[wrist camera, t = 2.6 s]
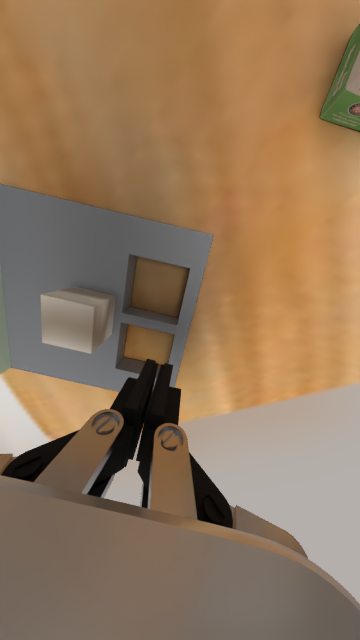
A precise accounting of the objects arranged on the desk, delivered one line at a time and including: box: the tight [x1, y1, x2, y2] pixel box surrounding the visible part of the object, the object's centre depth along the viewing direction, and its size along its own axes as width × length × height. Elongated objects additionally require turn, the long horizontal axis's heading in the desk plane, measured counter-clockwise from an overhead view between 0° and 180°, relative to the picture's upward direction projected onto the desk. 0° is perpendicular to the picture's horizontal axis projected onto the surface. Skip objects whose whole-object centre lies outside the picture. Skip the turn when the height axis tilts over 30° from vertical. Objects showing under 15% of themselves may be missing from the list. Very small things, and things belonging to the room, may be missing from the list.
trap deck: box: [0, 184, 214, 392], centre depth 18 cm, size 18×21×5 cm
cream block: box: [41, 287, 116, 354], centre depth 16 cm, size 4×4×4 cm
